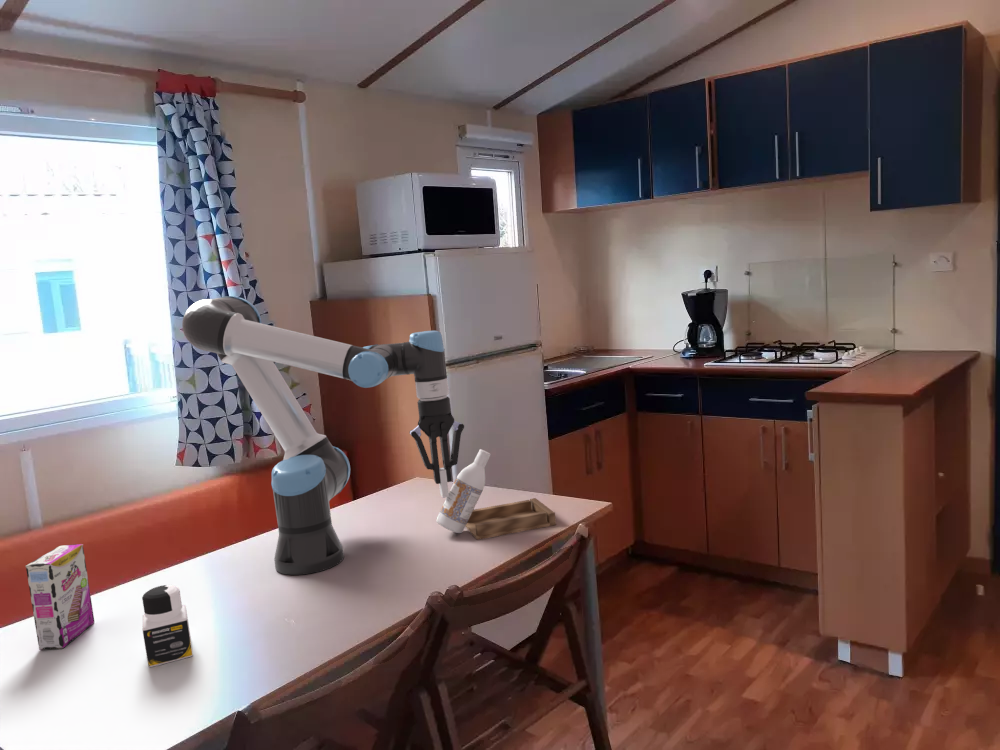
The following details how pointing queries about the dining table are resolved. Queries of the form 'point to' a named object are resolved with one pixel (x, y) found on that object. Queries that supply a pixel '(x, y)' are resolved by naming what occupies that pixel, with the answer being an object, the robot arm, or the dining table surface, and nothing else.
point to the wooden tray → (509, 518)
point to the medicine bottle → (165, 626)
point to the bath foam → (464, 495)
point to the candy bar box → (60, 596)
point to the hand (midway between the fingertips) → (444, 495)
